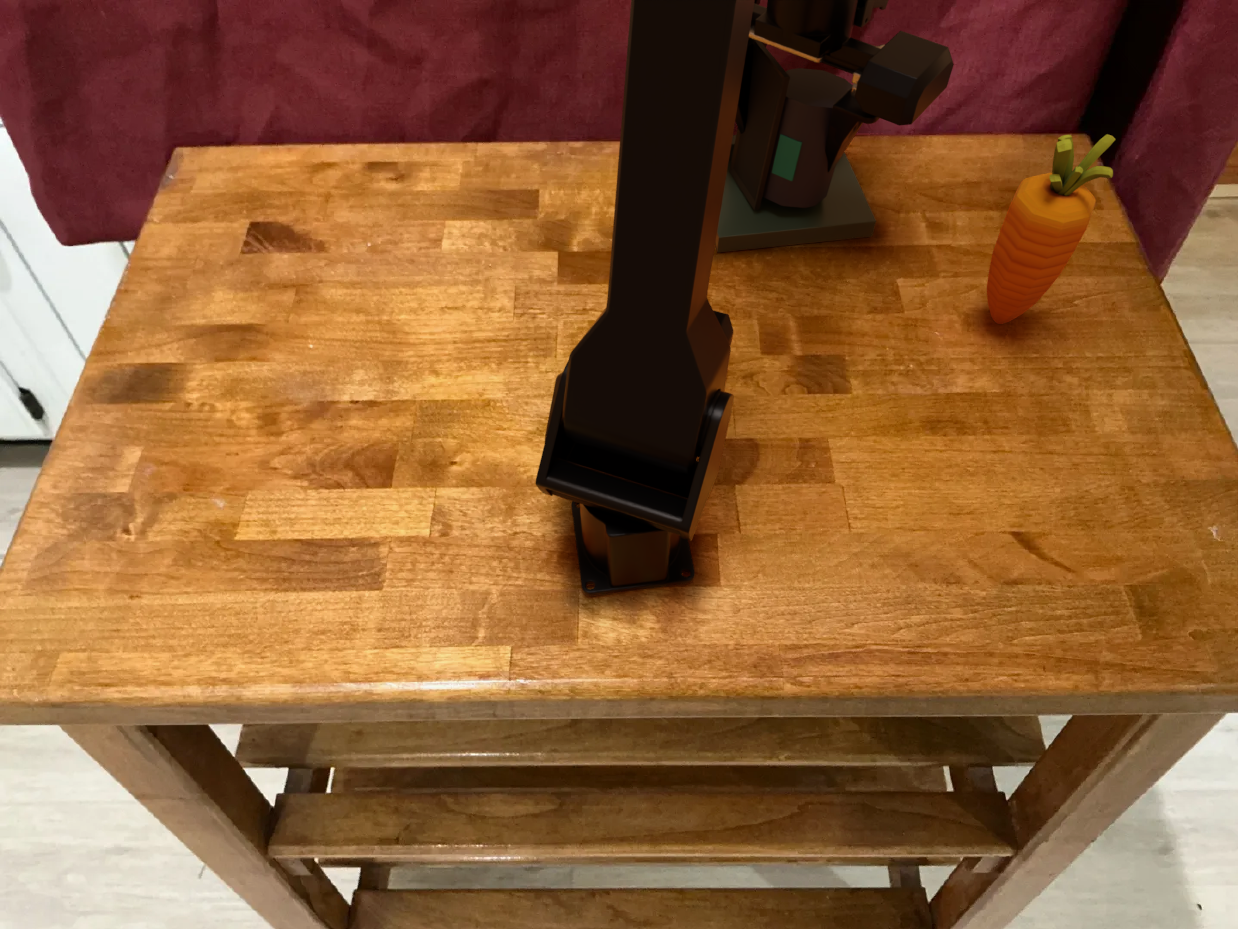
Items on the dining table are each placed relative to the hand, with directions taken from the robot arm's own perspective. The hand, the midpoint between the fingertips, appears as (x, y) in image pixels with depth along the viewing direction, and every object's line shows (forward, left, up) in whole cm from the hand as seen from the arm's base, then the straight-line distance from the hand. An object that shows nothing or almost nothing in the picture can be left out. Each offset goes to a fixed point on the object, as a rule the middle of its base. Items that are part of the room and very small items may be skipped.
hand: (787, 151), depth 67 cm
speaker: (0, 0, -3) cm, 3 cm away
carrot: (-15, -12, -5) cm, 20 cm away
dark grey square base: (0, 0, -5) cm, 5 cm away
